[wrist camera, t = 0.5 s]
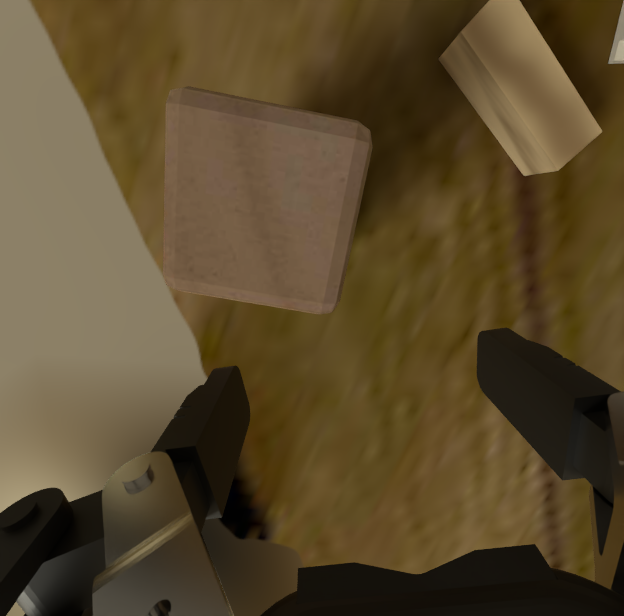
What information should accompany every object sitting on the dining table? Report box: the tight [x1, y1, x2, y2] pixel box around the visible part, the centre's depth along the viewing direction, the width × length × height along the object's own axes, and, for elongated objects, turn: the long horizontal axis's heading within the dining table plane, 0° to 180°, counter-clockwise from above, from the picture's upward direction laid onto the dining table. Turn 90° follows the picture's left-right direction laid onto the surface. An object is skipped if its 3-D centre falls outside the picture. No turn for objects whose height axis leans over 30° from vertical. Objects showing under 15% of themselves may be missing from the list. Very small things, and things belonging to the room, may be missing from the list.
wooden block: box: [163, 87, 373, 314], centre depth 24 cm, size 10×10×20 cm
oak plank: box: [438, 0, 602, 176], centre depth 28 cm, size 4×15×5 cm, turn 46°
